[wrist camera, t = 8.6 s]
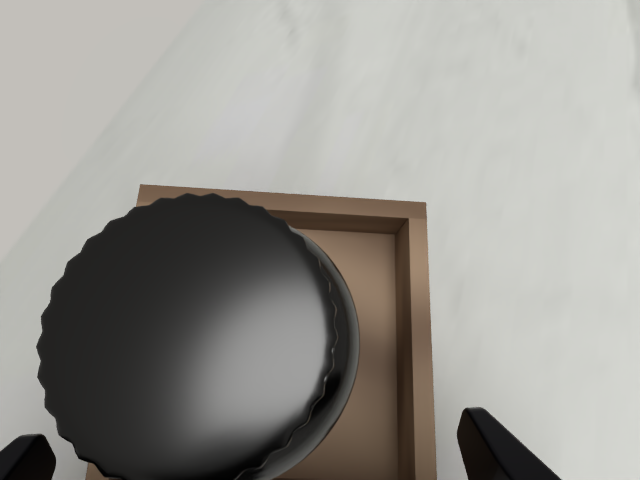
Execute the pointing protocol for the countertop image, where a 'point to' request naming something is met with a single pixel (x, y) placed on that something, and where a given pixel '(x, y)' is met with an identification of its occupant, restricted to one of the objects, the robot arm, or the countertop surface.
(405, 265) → the square wooden tray
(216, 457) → the supplement bottle
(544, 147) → the countertop surface
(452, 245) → the countertop surface
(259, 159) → the countertop surface
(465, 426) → the robot arm
